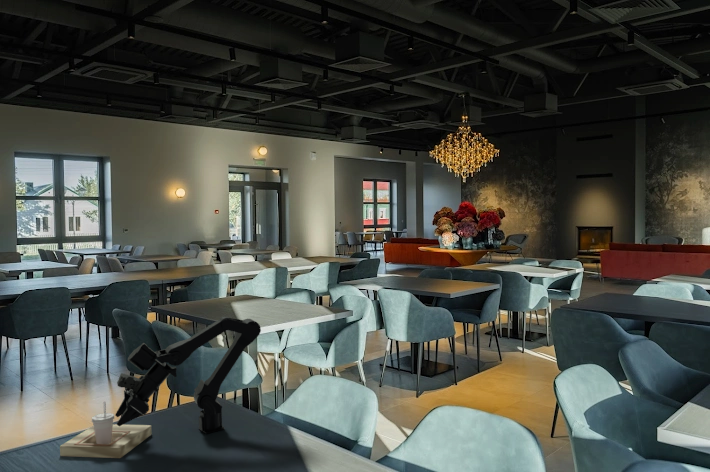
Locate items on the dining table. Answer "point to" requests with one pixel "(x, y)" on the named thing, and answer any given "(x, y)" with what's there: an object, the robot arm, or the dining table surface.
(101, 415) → the smoothie
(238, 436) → the dining table surface
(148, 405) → the robot arm
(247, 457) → the dining table surface
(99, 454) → the socket board
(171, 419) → the dining table surface
